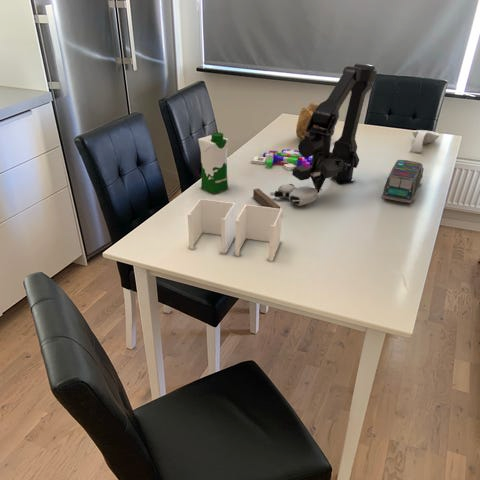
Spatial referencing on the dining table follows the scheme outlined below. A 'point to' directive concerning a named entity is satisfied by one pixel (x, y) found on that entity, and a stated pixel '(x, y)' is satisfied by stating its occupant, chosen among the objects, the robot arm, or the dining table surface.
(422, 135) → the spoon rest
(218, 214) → the storage bins
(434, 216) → the dining table surface
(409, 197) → the toy van
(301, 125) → the rough brown rock
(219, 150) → the milk carton
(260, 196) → the walnut kerb
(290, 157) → the building block set
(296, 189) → the robot toy
